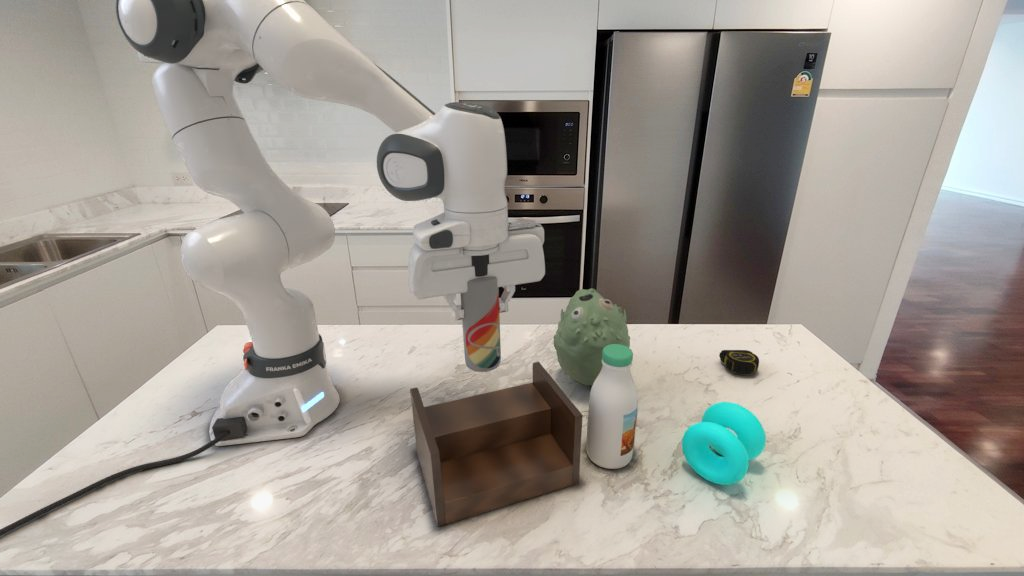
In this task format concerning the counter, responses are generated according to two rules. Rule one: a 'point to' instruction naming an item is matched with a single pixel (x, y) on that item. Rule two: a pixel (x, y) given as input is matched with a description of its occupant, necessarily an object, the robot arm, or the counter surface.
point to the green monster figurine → (588, 334)
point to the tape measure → (740, 361)
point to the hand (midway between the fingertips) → (480, 314)
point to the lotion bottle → (481, 319)
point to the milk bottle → (612, 410)
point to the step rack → (497, 447)
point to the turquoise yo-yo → (724, 443)
